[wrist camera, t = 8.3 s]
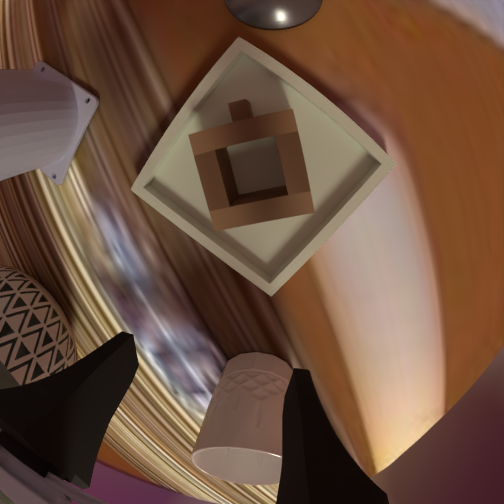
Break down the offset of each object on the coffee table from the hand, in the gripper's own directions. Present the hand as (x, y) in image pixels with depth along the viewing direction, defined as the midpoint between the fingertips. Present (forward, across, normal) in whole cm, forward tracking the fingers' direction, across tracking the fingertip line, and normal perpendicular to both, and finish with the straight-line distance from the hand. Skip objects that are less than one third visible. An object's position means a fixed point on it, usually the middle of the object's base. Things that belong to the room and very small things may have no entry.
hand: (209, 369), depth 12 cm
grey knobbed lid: (+10, 0, -20) cm, 22 cm away
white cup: (+10, -3, +11) cm, 15 cm away
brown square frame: (+10, 0, -7) cm, 12 cm away
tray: (+10, 0, -7) cm, 12 cm away
